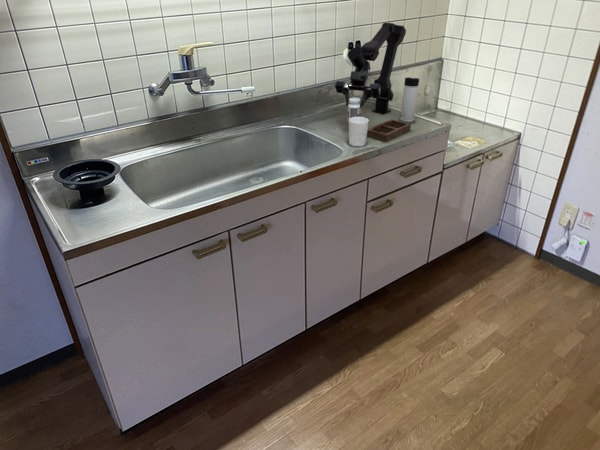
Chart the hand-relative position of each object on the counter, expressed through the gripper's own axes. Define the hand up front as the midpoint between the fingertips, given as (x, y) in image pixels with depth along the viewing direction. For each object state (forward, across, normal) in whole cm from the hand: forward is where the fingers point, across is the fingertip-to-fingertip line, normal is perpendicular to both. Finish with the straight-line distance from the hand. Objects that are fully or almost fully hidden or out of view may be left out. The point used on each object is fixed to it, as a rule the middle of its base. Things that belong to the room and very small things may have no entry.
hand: (353, 106), depth 193 cm
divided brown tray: (+5, +15, +12) cm, 20 cm away
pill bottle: (+4, 0, +6) cm, 7 cm away
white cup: (+16, +5, +1) cm, 17 cm away
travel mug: (-8, +20, +25) cm, 33 cm away
